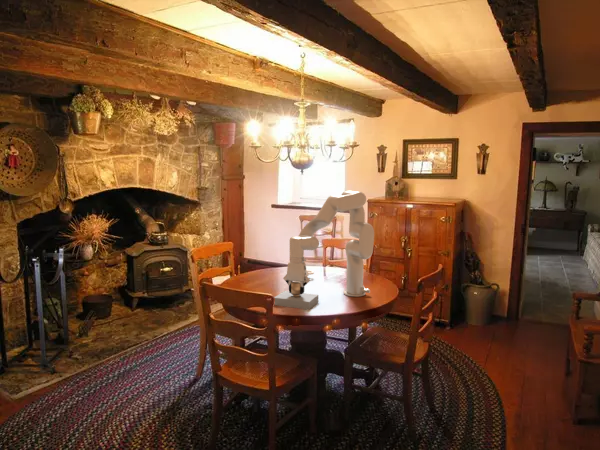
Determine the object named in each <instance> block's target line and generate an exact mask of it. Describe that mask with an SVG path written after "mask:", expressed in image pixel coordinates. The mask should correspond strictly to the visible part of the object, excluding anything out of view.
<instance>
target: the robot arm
mask: <svg viewBox="0 0 600 450" xmlns="http://www.w3.org/2000/svg"><path fill="white" fill-rule="evenodd" d="M366 202H367V196H366V195H365V193H363V192H362V191H356V190H355V191H354V190H345V191H343V192H342V193H341V195H336V194H333V195H329V196H328V197H327V198H326V199H325V202H324V203H323V204H322V207H321V208H320V210H319V211H318V212H317V214H316V216H315V217H313V218H312V219H311V220H310V221H309V222H307V224H305V225H304V227H303V228H302V230H301V231H300V233H299V234H298V236H292V237H290V238H289V261H288V263H287V268H286V269H287V270H286V274H285V275H284V277H283V278H282V279H283V280H284V281H285V282H286V284H287V286H288V291H289V293H291V282H295V281H298V282H300V284H301V287H300V294H303V293H305V286H306V285H307V284H308V283H310V282H311V279H310V278H309V276H308V277H307V271H306V269H307V266H306V261H307V258H305V256H304V255H305V253H304V251H315V250H317V249H318V248H319V246H320V241H319V238H317V237H316V236H314V235H315V233H316V232H317V231H320V230H322V229H323V228H326V227H328V226H330V224H331V222H332V221H333V219H335V216H337V215H336V214H338V212H340V213H342V212H343V213H344V212H349V223H348V226H349V227H348V234H349V235H350V236H351V237H352V238H356V239H350V240H349V241H348V242H347V243H346V244H345V255H346V282H345V283H346V287H345V288H346V289H344V290H343V294H344V295H345V296H348V297H353V298H354V297H363V296H365V295H366V293H367V294H370V293H371V289H370V288H365V285H364V260H369V259H370V258H371V257H372V255H373V252H374V246H375V245H374V242H375V241H374V240H375V230H374V227H373V225H372V224H370V223H368V222H365V221H366V219H365V218H366V217H365V216H366V212H365V208H364V206H365V204H367V203H366Z"/></svg>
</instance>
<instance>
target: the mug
mask: <svg viewBox="0 0 600 450" xmlns="http://www.w3.org/2000/svg"><path fill="white" fill-rule="evenodd" d="M306 271H307V277H308V278H309V275H314V274H315V271H314V270H309V269H307V268H306Z"/></svg>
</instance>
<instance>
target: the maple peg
mask: <svg viewBox="0 0 600 450" xmlns="http://www.w3.org/2000/svg"><path fill="white" fill-rule="evenodd" d="M300 287H301V284H300V282H298V281H293V282H291V294H292V295H293V297H295V298H299V297H300V295H301V294H300Z"/></svg>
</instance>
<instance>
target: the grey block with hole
mask: <svg viewBox="0 0 600 450" xmlns="http://www.w3.org/2000/svg"><path fill="white" fill-rule="evenodd" d="M274 298H275V305H274V306H280V307H288V308H295V309H301V310H308V311H309V310H310V309H312V308H313V307H315V305H317V304H318V303H319V294H313V293H307V292H306V293H305V292H304V293H303V294H301V295H300V297H299V298H295V297H293V295H292V294H291V293H289V290H284V291H282V292H281V293H279V294H277V295H276V296H273V299H274Z"/></svg>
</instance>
